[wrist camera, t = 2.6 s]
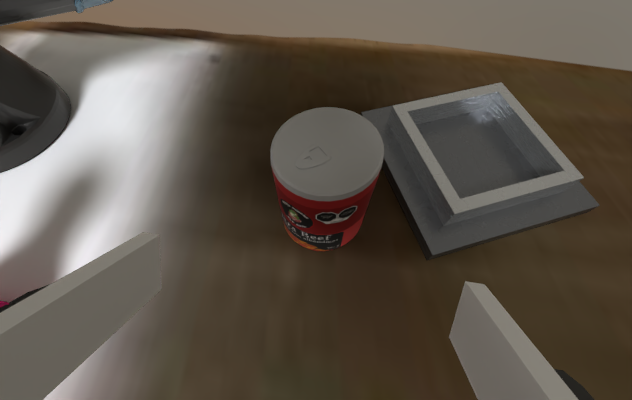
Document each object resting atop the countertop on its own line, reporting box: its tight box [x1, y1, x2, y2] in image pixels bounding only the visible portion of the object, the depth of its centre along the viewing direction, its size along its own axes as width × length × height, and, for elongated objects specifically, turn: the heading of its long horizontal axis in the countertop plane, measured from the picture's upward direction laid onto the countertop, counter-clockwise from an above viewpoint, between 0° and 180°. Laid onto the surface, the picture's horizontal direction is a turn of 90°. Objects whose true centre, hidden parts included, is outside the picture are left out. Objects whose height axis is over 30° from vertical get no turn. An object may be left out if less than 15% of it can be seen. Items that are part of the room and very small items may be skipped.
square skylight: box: [361, 82, 600, 260], centre depth 31 cm, size 18×18×4 cm
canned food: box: [270, 107, 384, 251], centre depth 25 cm, size 8×8×11 cm
